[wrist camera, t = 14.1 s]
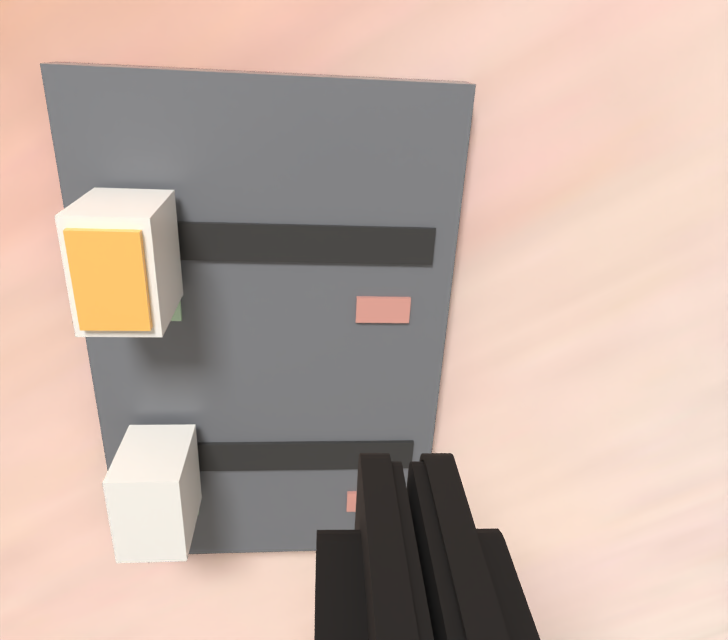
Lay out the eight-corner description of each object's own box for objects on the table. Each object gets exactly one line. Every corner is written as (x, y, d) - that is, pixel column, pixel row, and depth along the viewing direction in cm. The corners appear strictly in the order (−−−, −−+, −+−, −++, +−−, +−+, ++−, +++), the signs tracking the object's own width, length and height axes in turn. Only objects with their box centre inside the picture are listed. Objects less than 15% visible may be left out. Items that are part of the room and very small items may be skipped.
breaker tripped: (174, 189, 23) (147, 220, 19) (183, 294, 25) (160, 341, 21) (94, 187, 23) (50, 218, 19) (109, 293, 25) (72, 340, 21)
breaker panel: (466, 81, 24) (476, 84, 23) (415, 527, 35) (420, 550, 33) (55, 61, 23) (37, 63, 21) (129, 534, 33) (120, 558, 32)
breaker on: (195, 424, 28) (178, 481, 24) (201, 497, 30) (186, 561, 26) (129, 424, 28) (102, 482, 24) (139, 498, 30) (116, 563, 26)
